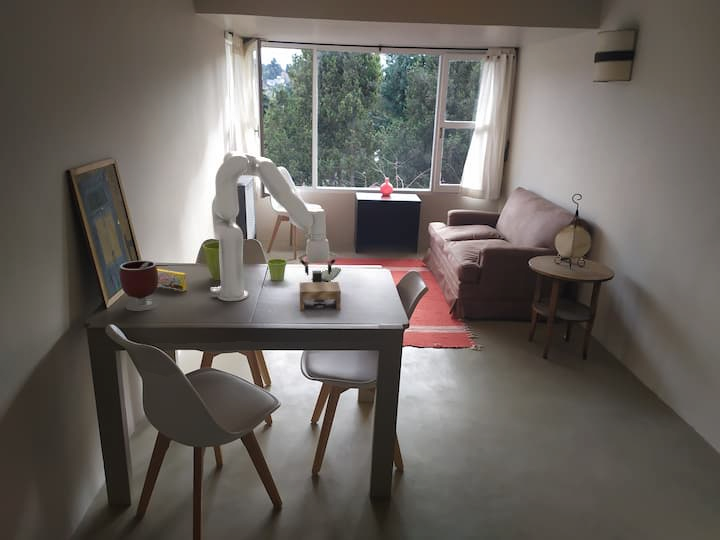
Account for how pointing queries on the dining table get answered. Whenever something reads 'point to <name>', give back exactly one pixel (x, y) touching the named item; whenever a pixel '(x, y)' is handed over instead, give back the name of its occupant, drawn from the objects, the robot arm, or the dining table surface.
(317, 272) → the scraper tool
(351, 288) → the dining table surface
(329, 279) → the stone slab
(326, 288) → the walnut shelf
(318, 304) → the steel disc
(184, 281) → the candy box
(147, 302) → the mate gourd
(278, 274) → the plant pot
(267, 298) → the dining table surface
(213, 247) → the flower pot
